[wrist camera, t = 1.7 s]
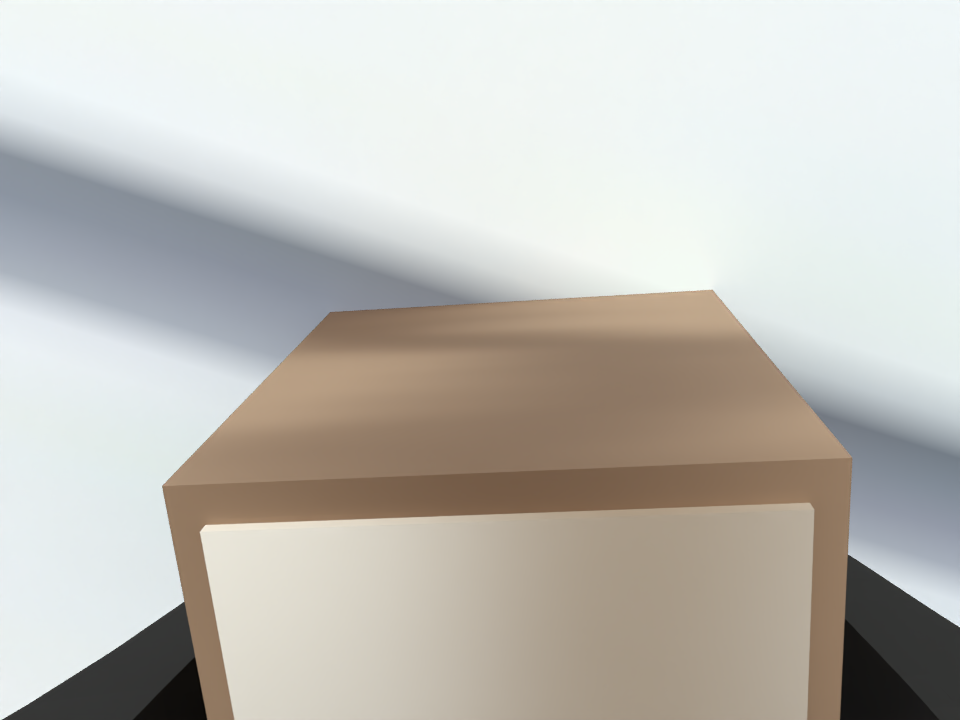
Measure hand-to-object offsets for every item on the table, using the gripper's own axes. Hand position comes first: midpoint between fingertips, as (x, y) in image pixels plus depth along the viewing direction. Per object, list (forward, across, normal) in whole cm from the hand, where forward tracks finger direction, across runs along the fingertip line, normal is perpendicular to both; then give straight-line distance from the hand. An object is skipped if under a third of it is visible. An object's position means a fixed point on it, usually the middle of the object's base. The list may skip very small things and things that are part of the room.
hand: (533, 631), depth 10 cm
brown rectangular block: (+2, 0, 0) cm, 2 cm away
